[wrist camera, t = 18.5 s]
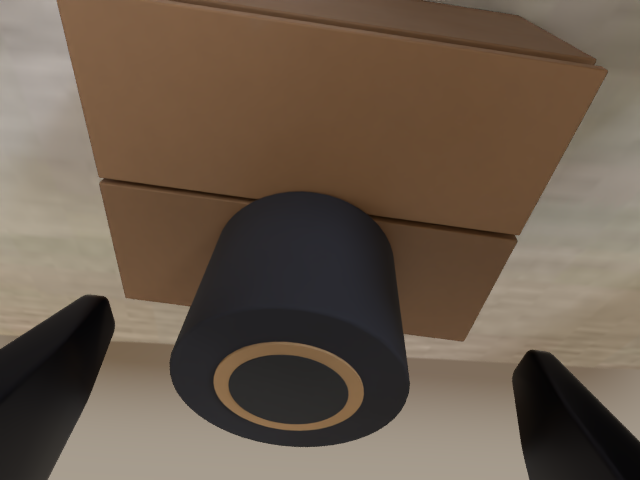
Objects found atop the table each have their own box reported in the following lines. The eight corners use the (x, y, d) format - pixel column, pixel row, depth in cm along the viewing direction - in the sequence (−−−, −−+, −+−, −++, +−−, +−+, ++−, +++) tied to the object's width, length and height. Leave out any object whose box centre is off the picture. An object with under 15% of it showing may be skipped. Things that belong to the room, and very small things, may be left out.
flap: (104, 171, 14) (98, 177, 13) (61, -17, 10) (52, -15, 10) (515, 228, 14) (519, 236, 14) (602, 65, 11) (609, 70, 10)
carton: (182, 202, 22) (124, 299, 17) (159, -41, 16) (49, -18, 10) (435, 236, 23) (464, 343, 17) (519, 15, 16) (613, 67, 10)
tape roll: (414, 205, 13) (443, 330, 9) (373, 334, 17) (381, 461, 13) (213, 177, 13) (152, 293, 9) (219, 314, 17) (178, 437, 13)
